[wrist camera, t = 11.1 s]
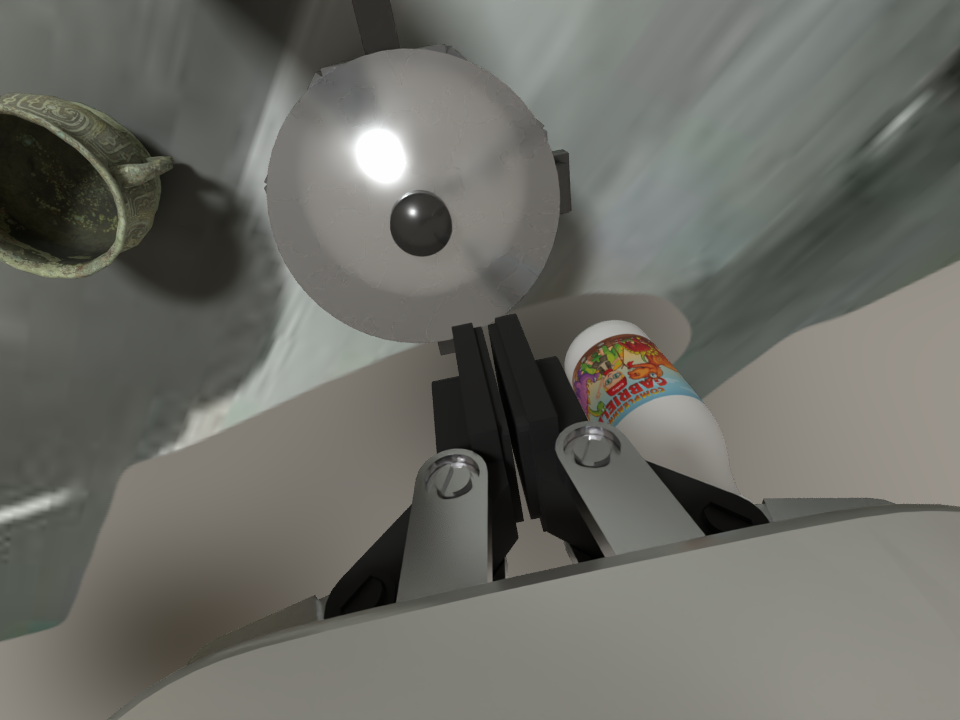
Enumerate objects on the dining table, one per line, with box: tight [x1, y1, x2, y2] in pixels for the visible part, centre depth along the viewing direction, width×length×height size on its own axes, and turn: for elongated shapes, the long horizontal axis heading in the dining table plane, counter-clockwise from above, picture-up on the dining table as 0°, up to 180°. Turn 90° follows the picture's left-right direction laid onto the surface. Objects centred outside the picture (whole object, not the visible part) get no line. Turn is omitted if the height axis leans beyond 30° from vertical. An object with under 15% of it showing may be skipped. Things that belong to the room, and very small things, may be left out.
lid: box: [267, 48, 569, 343], centre depth 23 cm, size 15×14×2 cm
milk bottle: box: [565, 320, 753, 503], centre depth 34 cm, size 8×8×20 cm
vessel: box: [0, 93, 173, 279], centre depth 26 cm, size 12×9×6 cm
